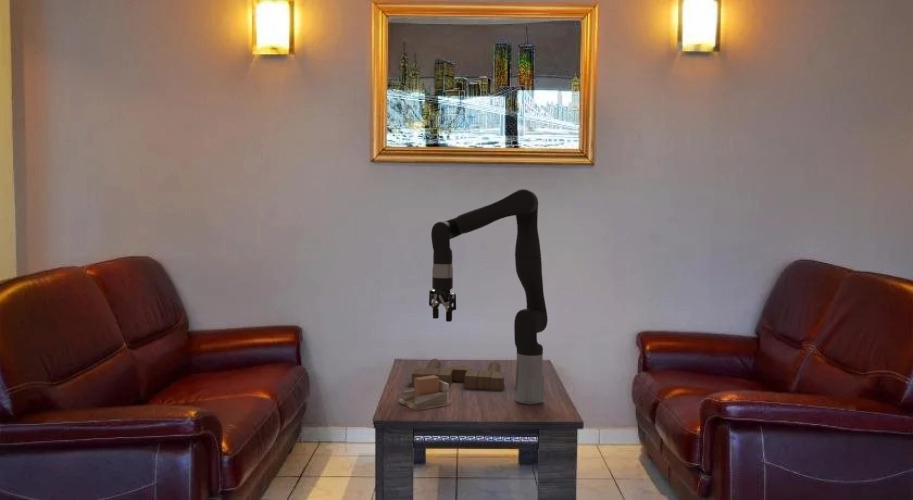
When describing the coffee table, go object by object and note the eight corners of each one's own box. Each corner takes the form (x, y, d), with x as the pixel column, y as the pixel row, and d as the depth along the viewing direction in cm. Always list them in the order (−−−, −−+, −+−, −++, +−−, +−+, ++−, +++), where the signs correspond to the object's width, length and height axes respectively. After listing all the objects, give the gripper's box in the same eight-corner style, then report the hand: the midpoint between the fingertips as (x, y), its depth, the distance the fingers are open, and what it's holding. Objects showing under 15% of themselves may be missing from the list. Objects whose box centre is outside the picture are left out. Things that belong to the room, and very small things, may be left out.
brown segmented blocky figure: (503, 391, 261) (506, 373, 290) (503, 377, 260) (506, 360, 289) (411, 387, 264) (423, 369, 294) (411, 373, 264) (423, 356, 293)
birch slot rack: (450, 404, 240) (451, 384, 240) (415, 410, 232) (416, 390, 232) (432, 396, 250) (433, 377, 250) (398, 401, 242) (398, 382, 242)
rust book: (438, 399, 242) (439, 377, 242) (419, 403, 238) (419, 380, 237) (433, 397, 245) (433, 375, 245) (413, 400, 241) (414, 377, 240)
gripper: (462, 277, 250) (461, 321, 251) (440, 274, 262) (439, 316, 263) (445, 278, 246) (444, 323, 247) (423, 274, 257) (423, 318, 258)
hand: (442, 319), depth 255 cm, fingers open, 8 cm apart
